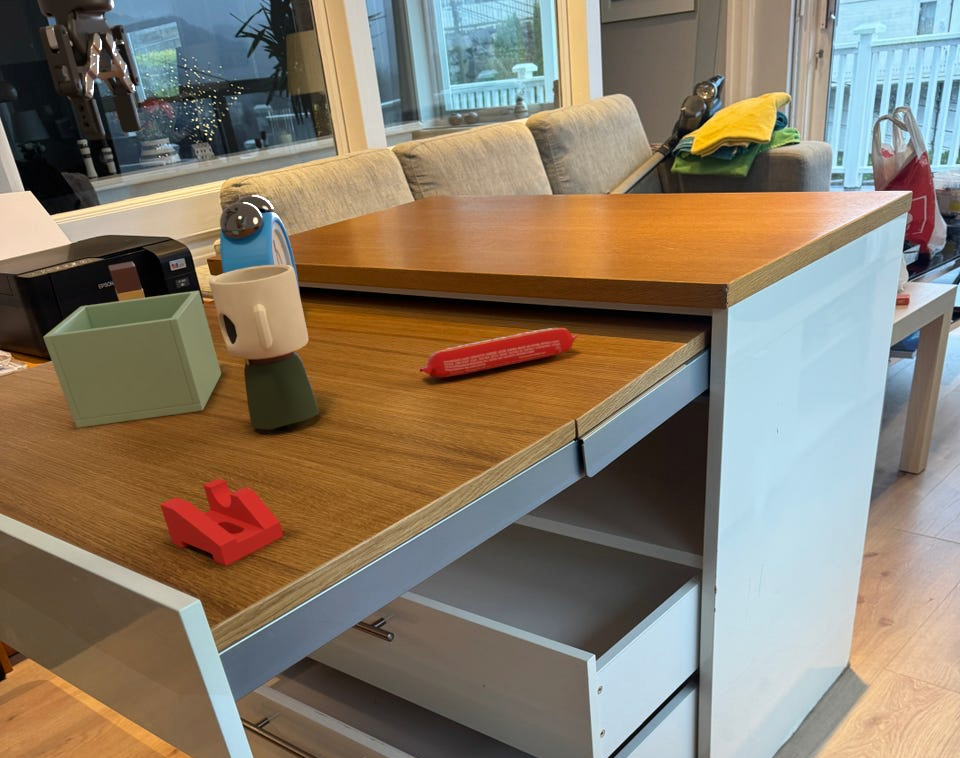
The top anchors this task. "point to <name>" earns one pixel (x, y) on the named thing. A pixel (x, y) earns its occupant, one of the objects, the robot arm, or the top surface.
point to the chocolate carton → (126, 281)
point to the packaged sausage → (499, 352)
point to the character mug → (267, 341)
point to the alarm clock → (253, 236)
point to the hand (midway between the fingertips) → (114, 135)
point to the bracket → (223, 523)
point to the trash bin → (135, 359)
